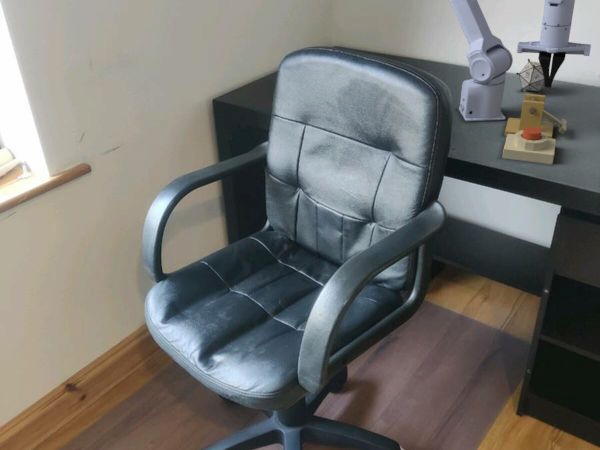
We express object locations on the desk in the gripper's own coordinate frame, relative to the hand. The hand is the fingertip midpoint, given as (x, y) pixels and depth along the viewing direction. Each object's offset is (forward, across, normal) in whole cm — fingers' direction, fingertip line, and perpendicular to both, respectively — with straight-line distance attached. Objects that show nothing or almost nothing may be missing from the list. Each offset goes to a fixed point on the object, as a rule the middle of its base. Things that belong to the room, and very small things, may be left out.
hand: (547, 86), depth 136 cm
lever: (+7, 0, -2) cm, 7 cm away
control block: (+10, -2, -13) cm, 17 cm away
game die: (+10, -4, +24) cm, 27 cm away
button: (+7, -2, -13) cm, 15 cm away
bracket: (+10, -3, -2) cm, 11 cm away
